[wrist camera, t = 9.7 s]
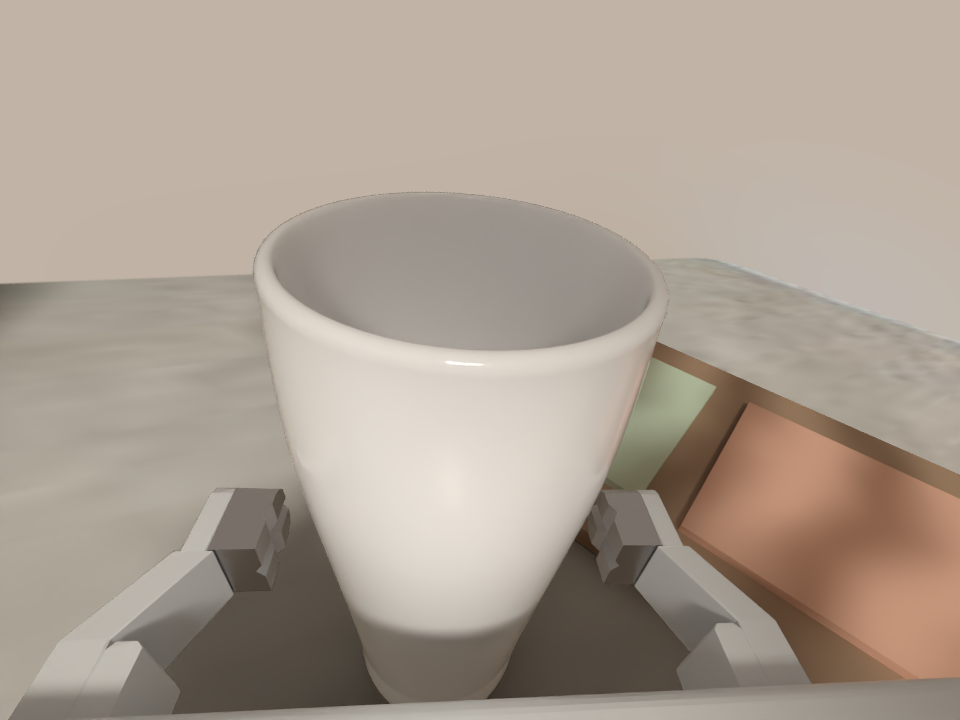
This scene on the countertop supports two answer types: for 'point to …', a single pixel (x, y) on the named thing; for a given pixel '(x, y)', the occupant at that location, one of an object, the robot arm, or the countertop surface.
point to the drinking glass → (451, 410)
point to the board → (803, 520)
